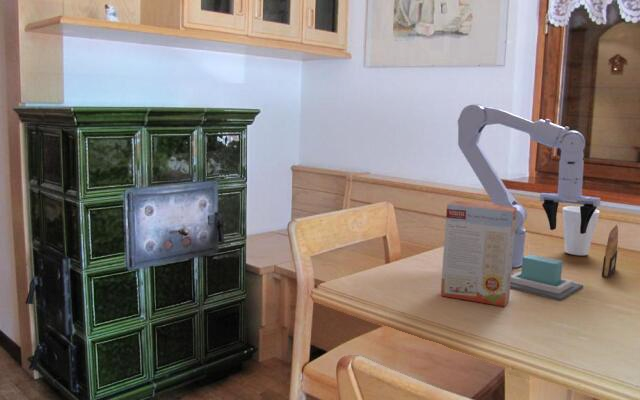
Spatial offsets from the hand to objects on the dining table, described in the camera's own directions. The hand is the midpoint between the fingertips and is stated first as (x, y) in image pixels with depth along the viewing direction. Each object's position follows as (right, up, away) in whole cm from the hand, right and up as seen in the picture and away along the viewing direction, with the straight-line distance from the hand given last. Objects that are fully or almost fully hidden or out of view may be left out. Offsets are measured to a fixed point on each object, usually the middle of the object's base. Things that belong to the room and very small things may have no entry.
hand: (567, 231), depth 159 cm
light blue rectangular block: (-12, -12, -13) cm, 21 cm away
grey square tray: (-12, -12, -13) cm, 21 cm away
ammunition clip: (+11, -11, +2) cm, 16 cm away
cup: (+10, -8, +20) cm, 24 cm away
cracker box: (-30, -14, -23) cm, 40 cm away
